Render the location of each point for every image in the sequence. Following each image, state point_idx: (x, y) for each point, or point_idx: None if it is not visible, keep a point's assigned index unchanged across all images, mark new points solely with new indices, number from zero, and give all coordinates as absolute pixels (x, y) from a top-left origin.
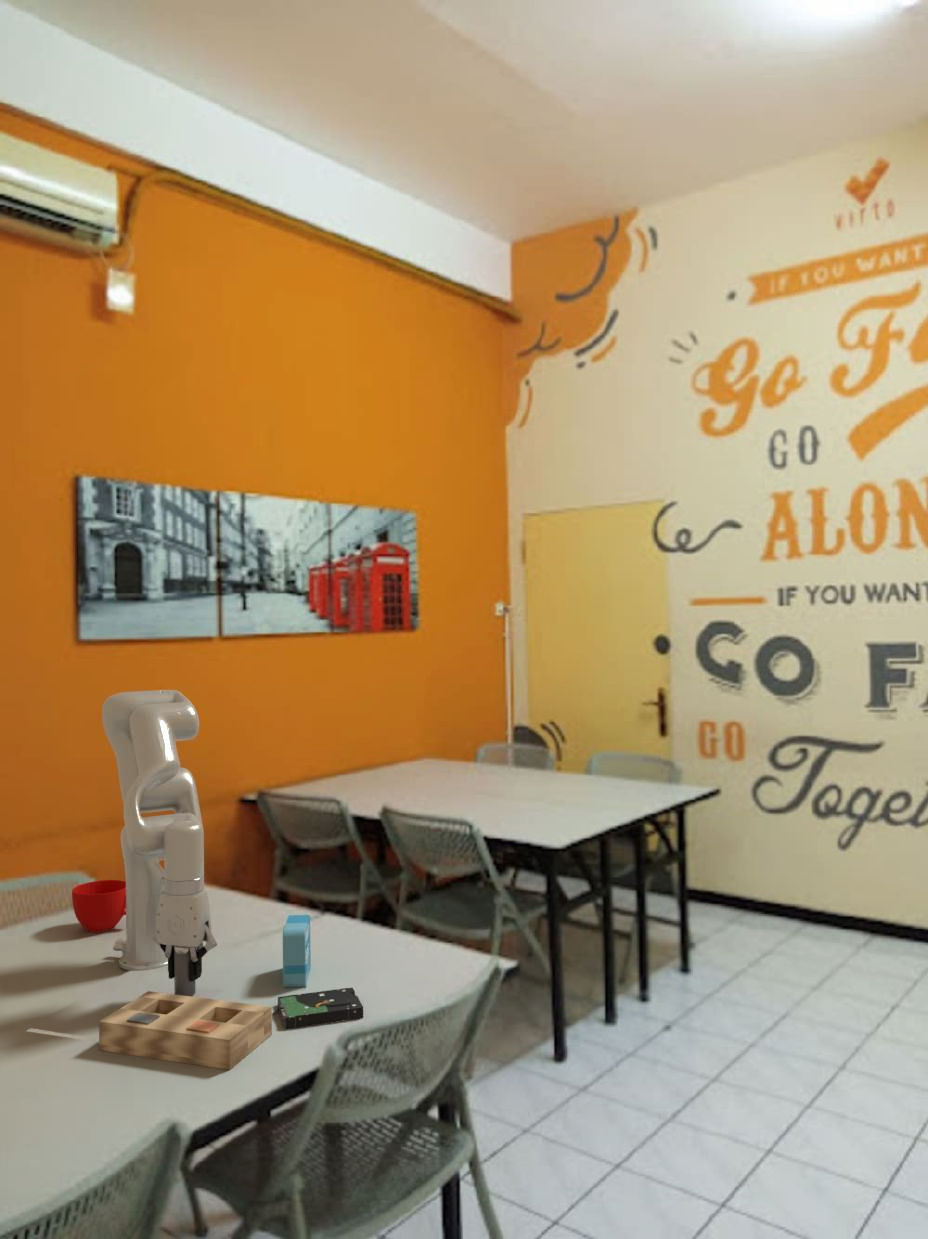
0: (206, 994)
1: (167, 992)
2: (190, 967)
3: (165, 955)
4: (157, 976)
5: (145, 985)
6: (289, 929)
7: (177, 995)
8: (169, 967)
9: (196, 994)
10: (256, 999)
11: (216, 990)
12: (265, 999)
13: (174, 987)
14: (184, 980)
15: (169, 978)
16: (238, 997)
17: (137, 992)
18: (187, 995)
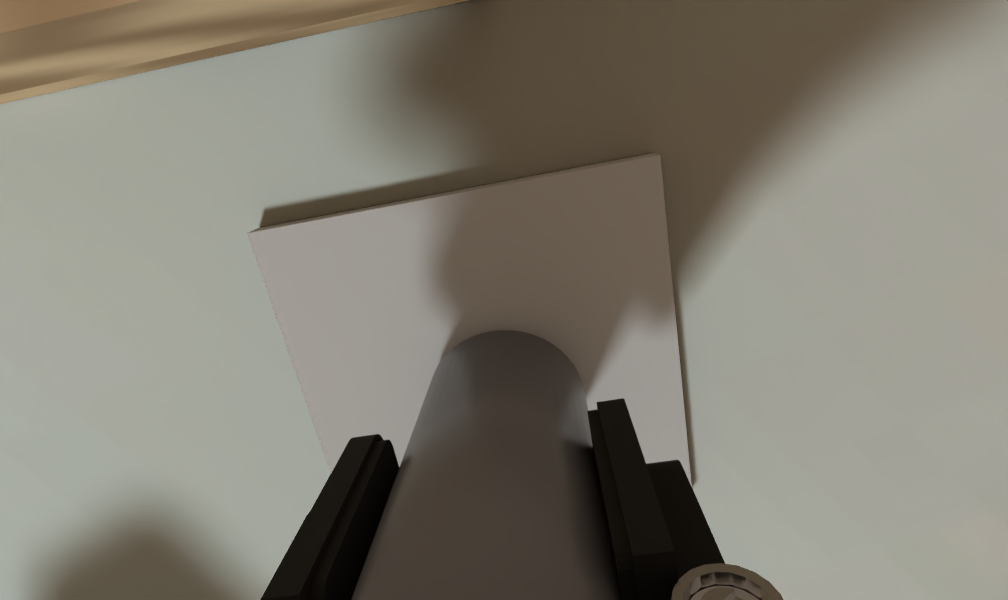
0: None
1: (681, 388)
2: (314, 535)
3: (769, 595)
4: (967, 570)
5: (957, 439)
6: None
7: (36, 4)
8: (634, 469)
9: None
10: (118, 556)
11: None
12: (76, 575)
13: (559, 374)
14: (427, 419)
15: (619, 401)
16: (232, 537)
17: (939, 327)
18: (436, 369)
